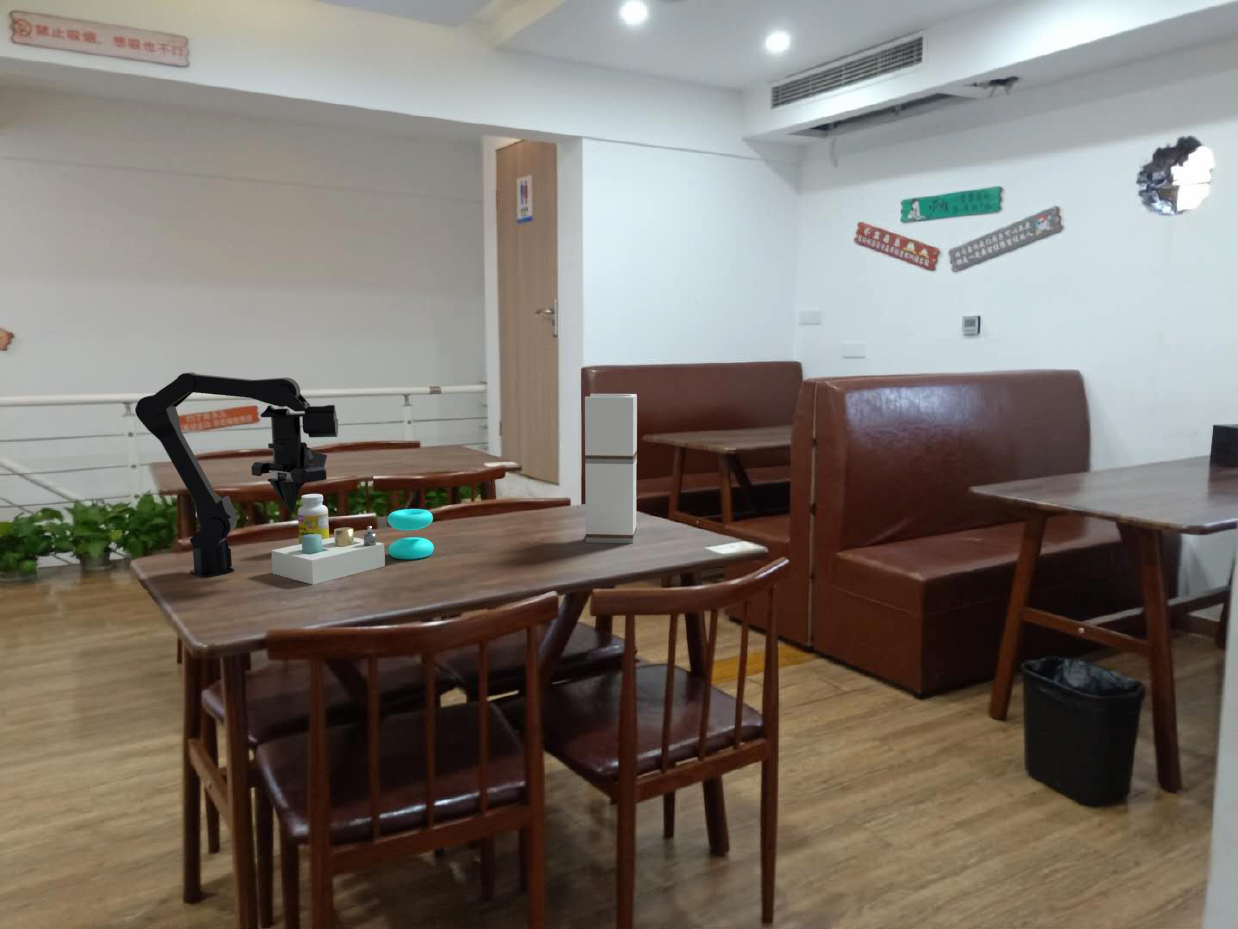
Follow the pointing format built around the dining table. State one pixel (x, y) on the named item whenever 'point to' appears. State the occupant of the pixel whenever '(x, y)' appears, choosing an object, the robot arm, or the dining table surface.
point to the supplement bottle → (313, 517)
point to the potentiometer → (369, 538)
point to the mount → (327, 561)
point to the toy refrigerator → (610, 467)
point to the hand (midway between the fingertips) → (290, 511)
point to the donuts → (412, 545)
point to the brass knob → (344, 537)
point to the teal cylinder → (311, 543)
